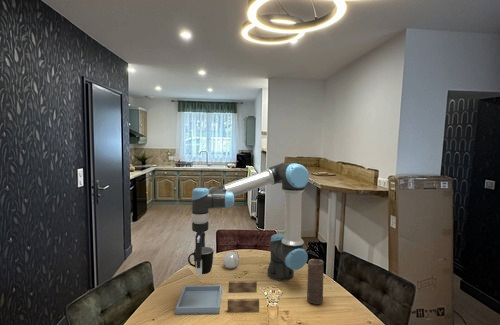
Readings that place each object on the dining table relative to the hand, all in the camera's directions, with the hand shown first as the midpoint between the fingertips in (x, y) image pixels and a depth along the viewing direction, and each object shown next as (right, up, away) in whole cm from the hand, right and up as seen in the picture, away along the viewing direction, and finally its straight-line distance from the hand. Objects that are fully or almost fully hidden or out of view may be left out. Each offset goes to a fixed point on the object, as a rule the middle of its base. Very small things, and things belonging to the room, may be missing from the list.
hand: (200, 269), depth 127 cm
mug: (0, -1, 0) cm, 1 cm away
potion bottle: (+12, -14, +40) cm, 44 cm away
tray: (0, -16, +1) cm, 16 cm away
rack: (+20, -16, +2) cm, 26 cm away
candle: (+54, -16, +2) cm, 56 cm away
